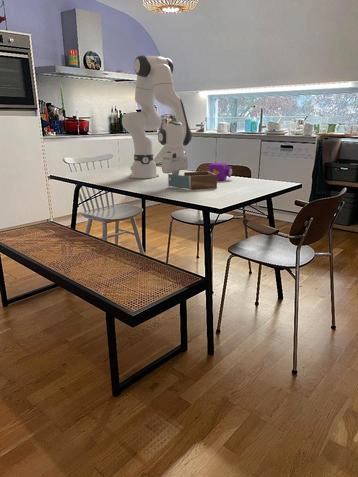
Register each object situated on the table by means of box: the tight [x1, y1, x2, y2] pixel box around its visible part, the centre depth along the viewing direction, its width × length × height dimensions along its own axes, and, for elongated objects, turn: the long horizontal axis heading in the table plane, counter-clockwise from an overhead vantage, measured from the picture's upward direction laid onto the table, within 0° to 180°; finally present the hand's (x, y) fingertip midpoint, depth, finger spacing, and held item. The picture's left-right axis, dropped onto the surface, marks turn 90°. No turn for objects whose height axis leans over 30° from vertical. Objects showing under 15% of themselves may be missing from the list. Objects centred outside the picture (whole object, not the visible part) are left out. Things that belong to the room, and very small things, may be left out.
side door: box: [167, 173, 192, 190], centre depth 197 cm, size 14×2×7 cm, turn 53°
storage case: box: [183, 170, 218, 191], centre depth 202 cm, size 14×14×7 cm
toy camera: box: [208, 161, 233, 181], centre depth 223 cm, size 11×14×10 cm
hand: (175, 179), depth 201 cm, fingers closed
